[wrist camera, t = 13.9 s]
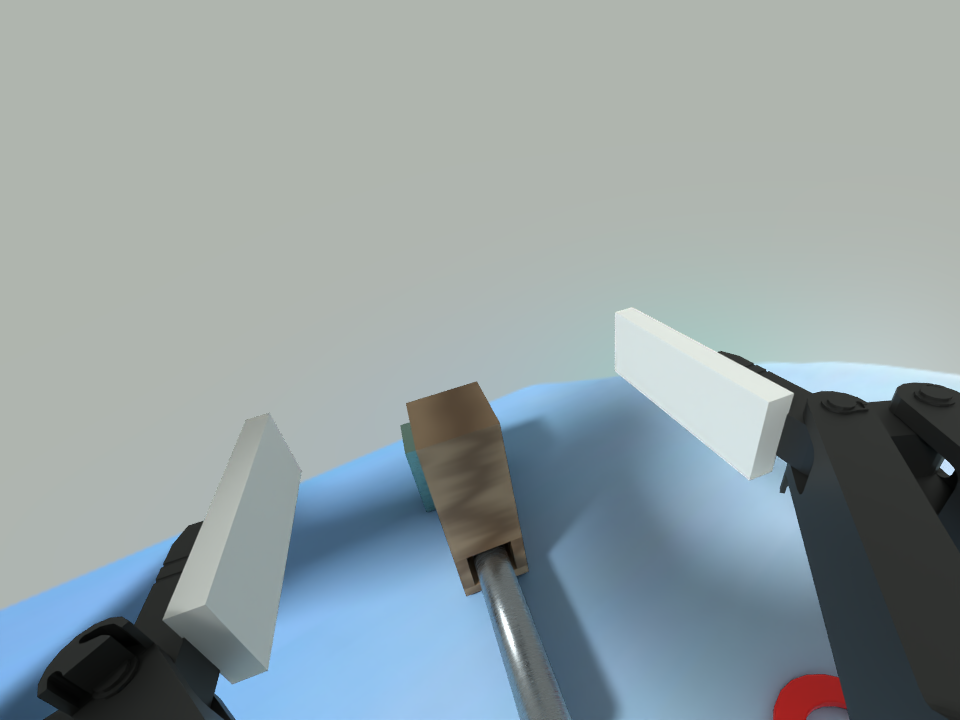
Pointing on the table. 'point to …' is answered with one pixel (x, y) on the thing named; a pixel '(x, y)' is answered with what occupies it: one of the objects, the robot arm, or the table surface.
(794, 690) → the tow hook
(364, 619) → the table surface
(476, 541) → the sleeve
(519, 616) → the rod stand
